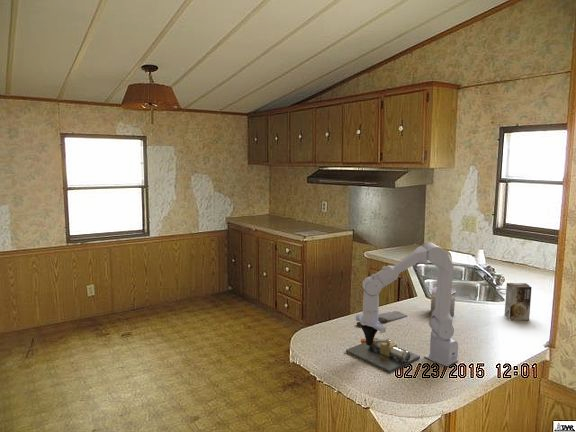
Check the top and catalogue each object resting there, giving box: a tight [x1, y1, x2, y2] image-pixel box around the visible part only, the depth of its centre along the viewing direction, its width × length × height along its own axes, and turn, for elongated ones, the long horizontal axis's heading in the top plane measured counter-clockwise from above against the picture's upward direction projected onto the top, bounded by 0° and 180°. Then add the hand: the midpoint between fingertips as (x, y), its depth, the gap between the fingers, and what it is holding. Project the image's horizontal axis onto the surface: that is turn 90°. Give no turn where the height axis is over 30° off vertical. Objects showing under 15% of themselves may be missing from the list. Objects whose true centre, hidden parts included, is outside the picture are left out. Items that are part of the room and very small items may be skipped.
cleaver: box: [356, 311, 408, 328], centre depth 203 cm, size 29×10×2 cm, turn 124°
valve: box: [345, 336, 421, 374], centre depth 166 cm, size 21×18×6 cm
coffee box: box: [504, 282, 532, 321], centre depth 205 cm, size 9×6×16 cm
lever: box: [360, 338, 393, 344], centre depth 164 cm, size 12×2×1 cm, turn 91°
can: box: [430, 286, 457, 318], centre depth 210 cm, size 11×11×12 cm
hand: (369, 344), depth 162 cm, fingers closed, pressing on lever
